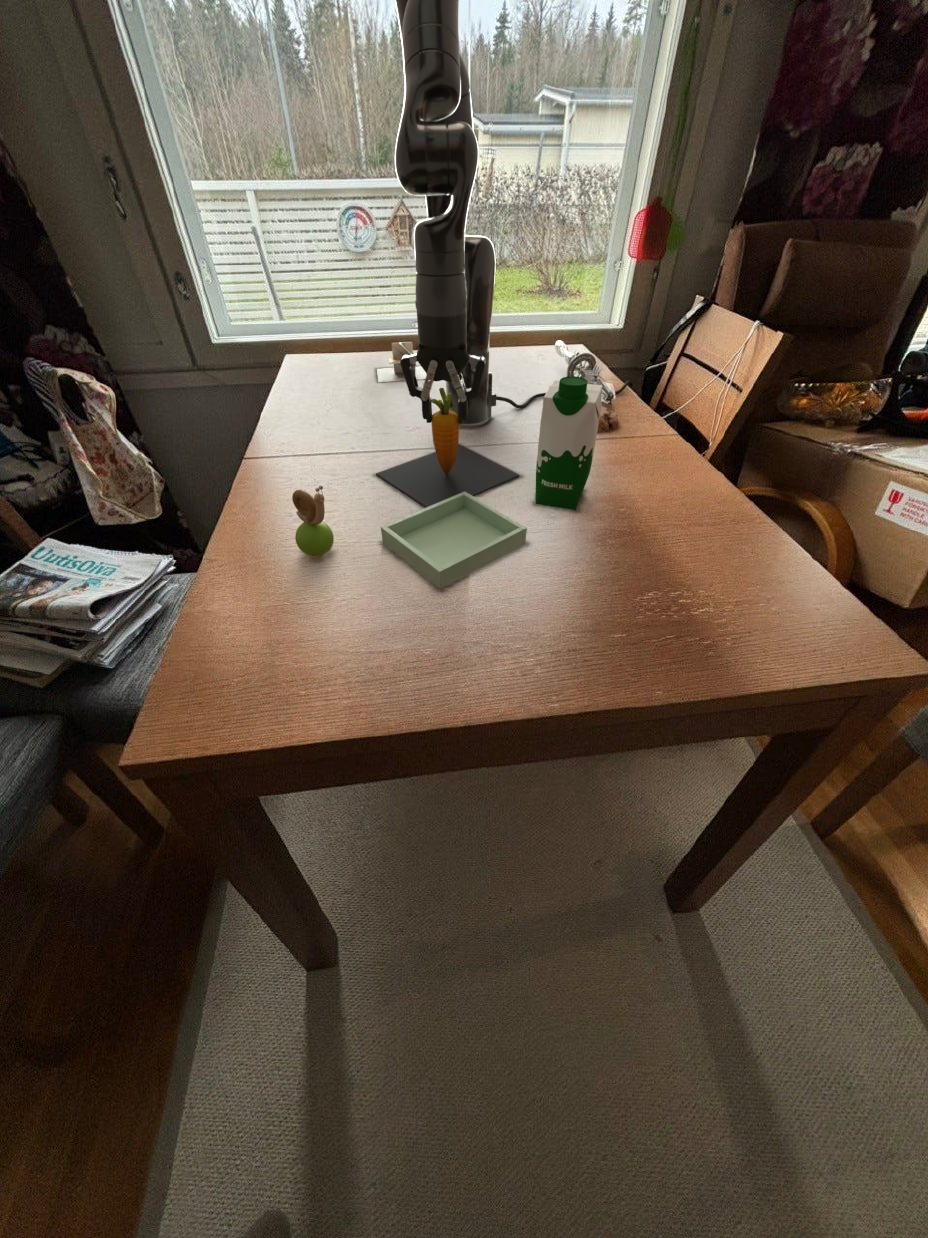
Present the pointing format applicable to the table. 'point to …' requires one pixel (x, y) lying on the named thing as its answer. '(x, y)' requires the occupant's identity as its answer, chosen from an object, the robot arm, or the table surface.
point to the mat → (446, 477)
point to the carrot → (445, 432)
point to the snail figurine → (312, 523)
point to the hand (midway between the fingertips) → (445, 421)
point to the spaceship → (585, 370)
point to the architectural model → (397, 371)
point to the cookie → (607, 420)
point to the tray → (453, 538)
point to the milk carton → (566, 441)
